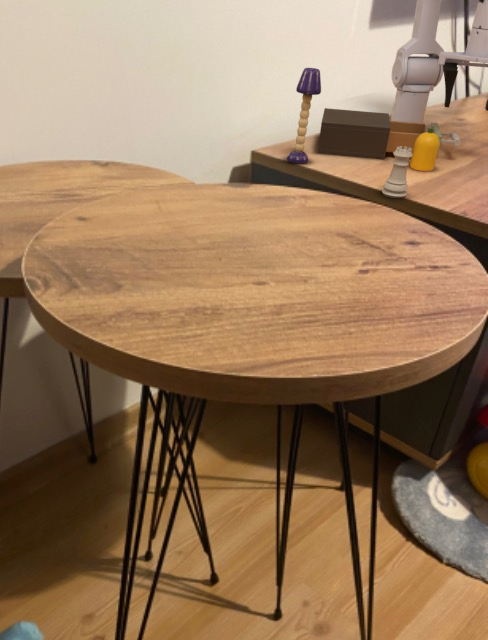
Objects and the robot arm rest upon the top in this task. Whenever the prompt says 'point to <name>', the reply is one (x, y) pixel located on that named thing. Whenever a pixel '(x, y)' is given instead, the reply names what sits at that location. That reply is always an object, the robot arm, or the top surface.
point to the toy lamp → (305, 111)
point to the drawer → (414, 135)
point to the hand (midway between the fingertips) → (466, 108)
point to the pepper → (425, 151)
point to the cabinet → (354, 133)
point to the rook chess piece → (398, 174)
